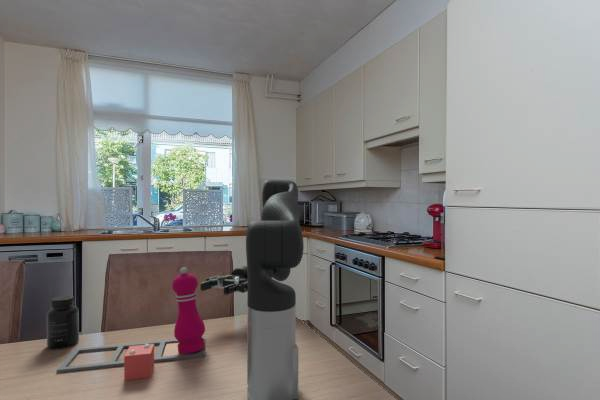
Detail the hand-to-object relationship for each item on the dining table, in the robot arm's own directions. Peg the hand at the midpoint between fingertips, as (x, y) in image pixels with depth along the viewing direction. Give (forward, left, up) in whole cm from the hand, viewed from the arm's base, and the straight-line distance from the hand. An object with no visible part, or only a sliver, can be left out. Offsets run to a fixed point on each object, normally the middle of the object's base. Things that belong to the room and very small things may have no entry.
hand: (212, 289), depth 96 cm
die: (+15, +18, -12) cm, 27 cm away
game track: (+17, +8, -12) cm, 23 cm away
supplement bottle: (+37, -3, -13) cm, 40 cm away
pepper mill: (+5, +10, -12) cm, 16 cm away
